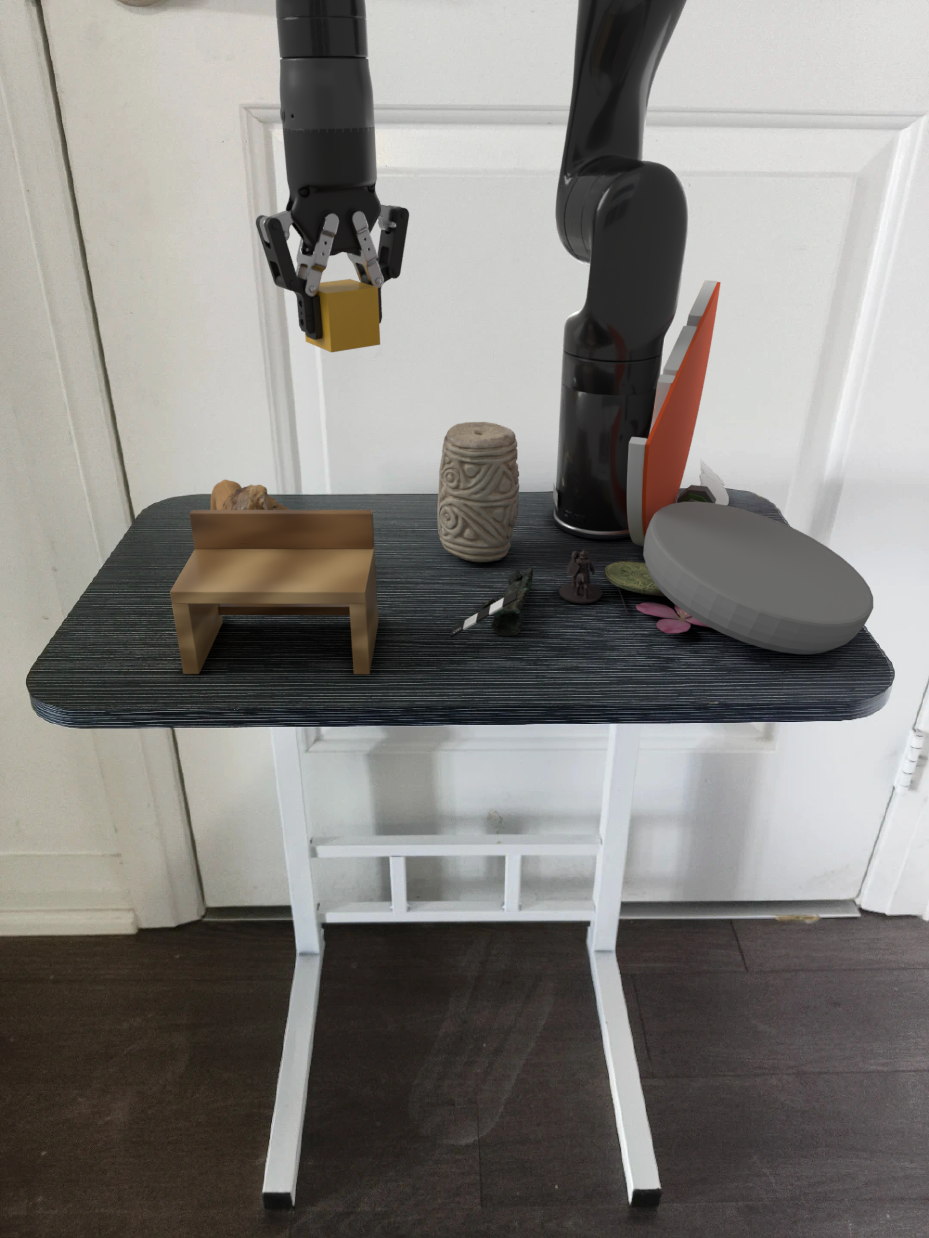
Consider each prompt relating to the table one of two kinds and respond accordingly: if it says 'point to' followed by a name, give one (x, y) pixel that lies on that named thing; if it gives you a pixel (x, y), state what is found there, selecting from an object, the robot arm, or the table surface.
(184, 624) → the bench
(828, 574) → the decorative stone
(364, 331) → the block
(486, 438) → the carving
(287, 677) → the table surface
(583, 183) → the robot arm
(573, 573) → the figurine
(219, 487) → the lion figurine
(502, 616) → the figurine
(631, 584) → the medallion
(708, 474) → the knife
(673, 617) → the flower
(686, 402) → the wall plaque
